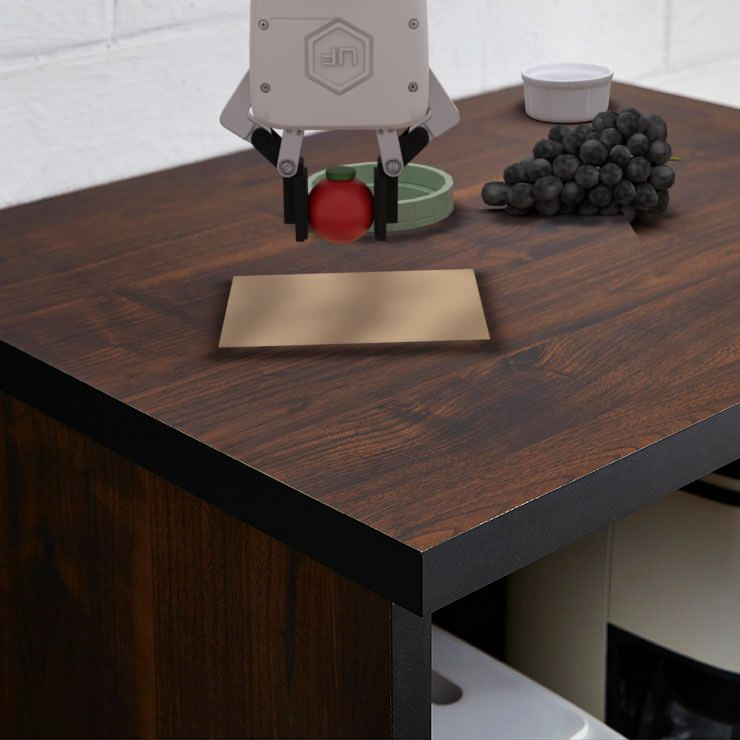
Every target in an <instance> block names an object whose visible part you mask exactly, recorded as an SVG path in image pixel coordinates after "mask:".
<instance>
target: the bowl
mask: <svg viewBox="0 0 740 740" xmlns="http://www.w3.org/2000/svg"><path fill="white" fill-rule="evenodd" d="M341 166H349V167H352V168H354V169H355V170H356V176H355V177H357V178H359V179H361V180H362V181H363V182H364V183H365V184H366V185H367V186H368V187H369V188H370V190H371V192H372V194H373V196H374V167H377V161H365V162H356V163H349V164H347V163H346V164H342V165H341ZM326 169H327V168H325V169H322V170H320V171H318V172H315V173H313V174H311V175H310V176H308V195H309V193H310V191H311V190H312V188H313V187H314V186H315V184H316V183H317V182H319V181H320V180H321V179H323V178H324V177H326V176H325V171H326ZM454 184H455V183H454V180H453V176H452V175H450V174H448V173H447V172H446V171H444V170H442V169H439V168H436V167H433V166H430V165H425V164H417V163H414V162H409V163H408V164H407V165H406V166H405V167H404V168H403V171H402V173H401V174H400V175H398V223H387V226H386V233H387V232H388V233H389V232H397V231H407V230H412V229H418V228H423V227H425V226H429V225H433V224H434V225H435V224H436V223H438V222H441V221H443V220H444V219H447V218H448V217H449V216H450V215H451V214H452V212H453V211H454V205H455V204H454V201H455V200H454V199H455V195H454V193H455V192H454V188H455V187H454ZM367 233H374V221H373V224H372V226H371V227H370V229H369V230H368V231H367Z"/></svg>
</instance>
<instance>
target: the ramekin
mask: <svg viewBox="0 0 740 740" xmlns="http://www.w3.org/2000/svg"><path fill="white" fill-rule="evenodd" d="M614 73H615V71H614V69H613V67H611V66H608V65H606V64H602V63H595V62H587V61H586V62H585V61H553V62H543V63H537V64H532V65H529V66H526V67H524V68H523V69H522V70H521V72H520V74H521V80H522V81H523V91H524V92H523V93H524V94H523V95H524V105H525V106H524V107H525V113H526V115H528V117H530V118H532V119H534V120H537V121H541V122H547V123H556V124H575V123H576V124H577V123H586V122H592V121H593V119H594V117H595V116H596V115H597V114H598V113H599V112H606V111H607V110H609V102H610V94H611V85H612V80H613V78H614Z"/></svg>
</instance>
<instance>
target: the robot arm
mask: <svg viewBox="0 0 740 740" xmlns="http://www.w3.org/2000/svg"><path fill="white" fill-rule="evenodd" d="M249 2H250V3H249V45H248V46H249V49H248V50H249V53H248V56H249V59H248V60H249V62H248V63H249V67H248V69H247V71H246V72H245V74H244V75H243V76H242V78H241V80H240V81H239V83H238V84H237V86H236V88H235V89H234V91H233V92H232V94H231V96H230V97H229V98H228V100H227V102H226V104H225V105H224V107H223V108H222V110H221V112H220V116H219V124H220V125H221V126H222V127H223V128H225V129H226V130H227V131H229V132H231V133H233V134H234V135H235V136H237V137H238V138H240V139H242V140H243V141H246V142H248V143H249V144H251V145H252V147H253V148H254V149H255V150H256V151H258V153H259V154H261V155H262V156H263V157H264V159H266V160H267V161H268V162H269V163H270V164H271V165H272V166H273V167H275V168H276V170H277V173H278V174H279V175H280V176H281V177H282V192H283V193H282V194H283V195H282V197H283V223H284V225H295V228H294V229H295V242H296V243H305V241H308V240H309V231H310V230H309V229H310V224H309V221H308V213H307V199H308V178H309V168H308V166H305V158H304V157H303V156H302V155H301V152H302V147H303V141H304V135H305V131H365V130H366V131H375V136H376V140H377V147H378V151H379V155H378V156H377V158H376V162H377V167H374V232H373V234H374V235H373V236H374V240H377V242H387V232H386V226H387V223H398V175H400V174H401V173H402V171H403V168H404V167H405V166H406V165H407V164H408V163H411V161H413V160H414V159H415V158H416V157H417V156H418V155H419V154H420V153H421V152H422V151H423V150H424V149H425V148H426V147H427V146H428V145H429V144H430V143H431V142H432V141H434V140H436V139H439V138H440V137H441V136H442V135H444V134H446V133H447V132H449V131H450V130H452V129H453V128H455V127H456V126H457V125H458V124H460V121H461V116H460V112H459V110H458V108H457V106H456V105H455V103H454V102H453V100H452V98H451V97H450V96H449V94H448V92H447V91H446V89H445V88H444V87H443V85H442V83H441V82H440V80H439V79H438V77H437V76H436V74H435V73H434V71H433V70H432V68H431V67H430V54H429V53H430V50H429V23H428V22H429V21H428V4H427V0H250V1H249ZM428 108H429V112H428V113H427V111H428ZM250 109H251V110H250ZM251 112H252V113H251ZM274 129H275V130H274ZM401 129H404V130H403V132H402V133H401V134H400V135H399V131H398V130H401ZM276 130H281V131H282V135H280V134H279V133H278V132H277V131H276Z"/></svg>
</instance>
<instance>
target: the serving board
mask: <svg viewBox="0 0 740 740" xmlns="http://www.w3.org/2000/svg"><path fill="white" fill-rule="evenodd" d="M487 324H488V323H487V320H486V315H485V311H484V308H483V303H482V300H481V294H480V291H479V286H478V283H477V279H476V274H475V270H474V269H473V268H459V269H458V268H456V269H455V268H454V269H427V270H425V269H424V270H395V271H393V270H392V271H391V270H390V271H362V272H361V271H359V272H358V271H357V272H327V273H326V272H325V273H323V272H322V273H294V274H263V275H234V276H232V281H231V286H230V291H229V295H228V300H227V305H226V310H225V314H224V320H223V323H222V328H221V332H220V337H219V341H218V342H219V343H218V348H220V349H221V348H249V347H253V348H254V347H282V346H283V347H284V346H315V345H345V344H346V345H349V344H351V345H353V344H380V343H381V344H382V343H415V342H417V343H418V342H445V341H446V342H447V341H478V340H479V341H481V340H482V341H483V340H491V337H490V332H489V329H488V325H487Z"/></svg>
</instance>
